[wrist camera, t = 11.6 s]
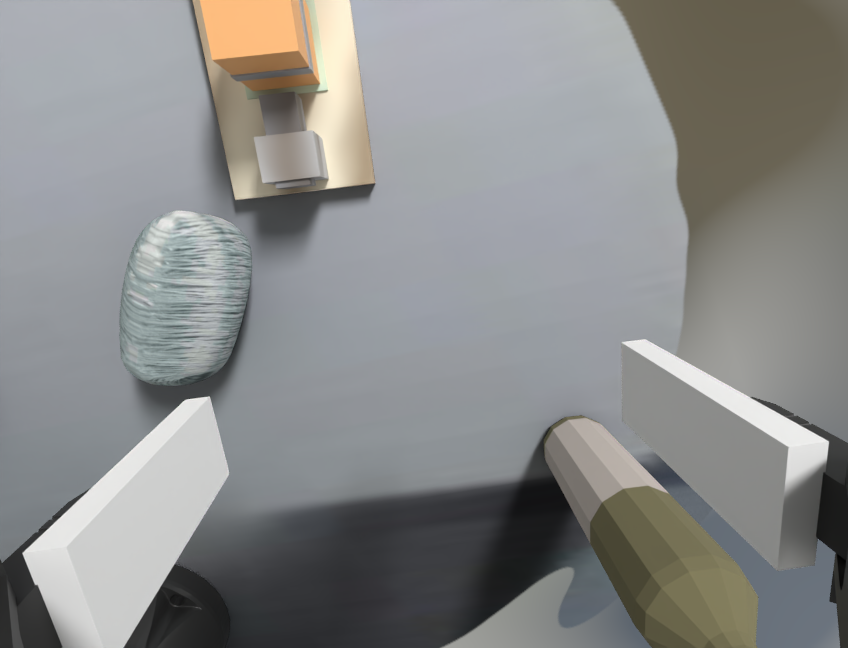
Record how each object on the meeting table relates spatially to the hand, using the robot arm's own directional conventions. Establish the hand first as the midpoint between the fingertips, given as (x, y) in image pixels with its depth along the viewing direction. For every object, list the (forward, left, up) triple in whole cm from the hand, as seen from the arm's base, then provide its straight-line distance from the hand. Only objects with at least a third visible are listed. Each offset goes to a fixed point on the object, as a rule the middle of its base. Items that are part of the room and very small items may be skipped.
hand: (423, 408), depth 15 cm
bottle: (+14, -18, -27) cm, 35 cm away
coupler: (-7, +18, -25) cm, 32 cm away
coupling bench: (-7, +18, -27) cm, 33 cm away
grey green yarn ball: (-17, +1, -27) cm, 32 cm away
